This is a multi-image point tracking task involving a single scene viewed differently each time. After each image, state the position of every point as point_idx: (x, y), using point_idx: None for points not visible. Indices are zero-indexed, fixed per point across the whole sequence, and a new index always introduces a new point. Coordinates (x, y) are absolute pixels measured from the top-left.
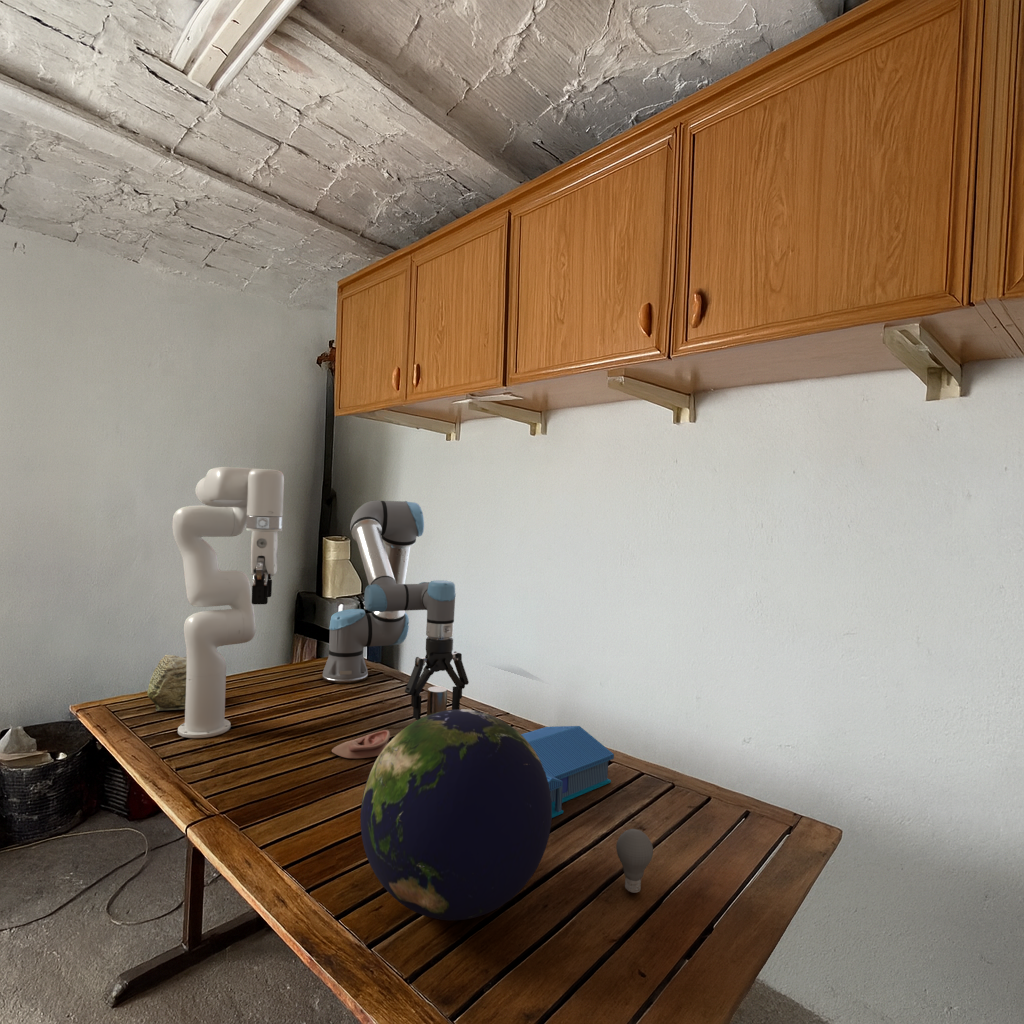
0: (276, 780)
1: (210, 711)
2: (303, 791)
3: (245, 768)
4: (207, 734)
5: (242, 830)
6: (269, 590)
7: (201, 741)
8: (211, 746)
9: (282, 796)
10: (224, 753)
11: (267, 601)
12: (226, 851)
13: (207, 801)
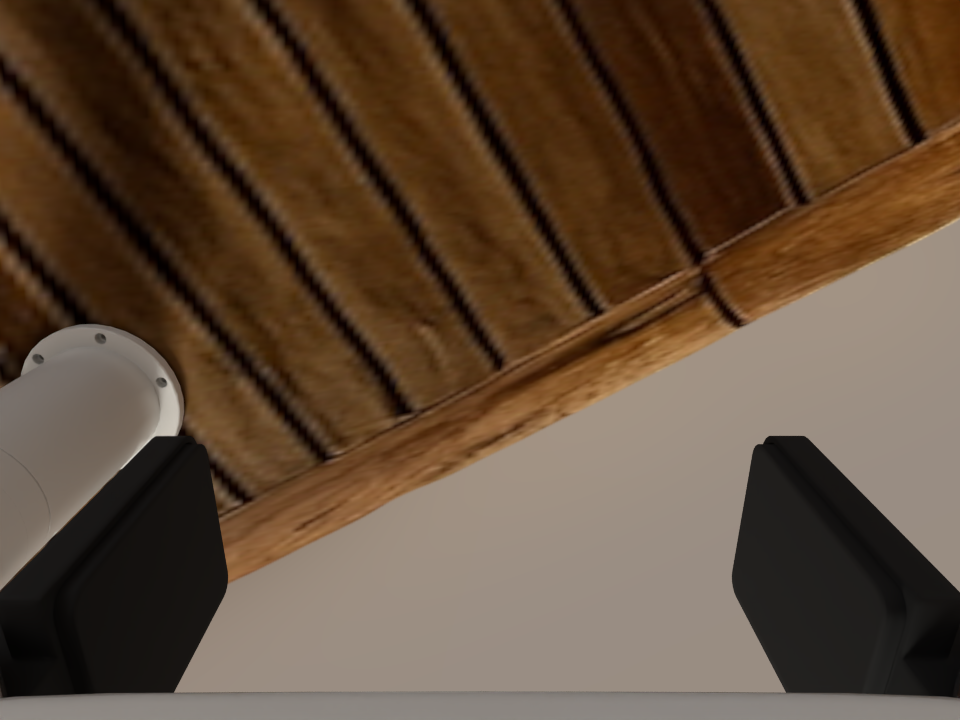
0: (531, 132)
1: (115, 407)
2: (629, 39)
3: (425, 235)
4: (173, 381)
5: (811, 197)
6: (167, 503)
7: (203, 388)
8: (244, 354)
9: (646, 105)
10: (303, 310)
11: (802, 444)
12: (900, 222)
13: (622, 305)
